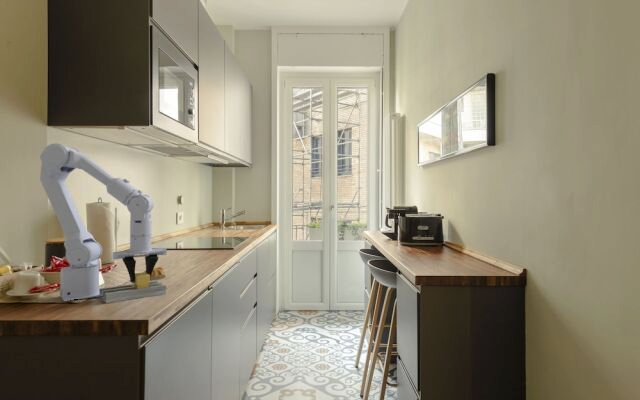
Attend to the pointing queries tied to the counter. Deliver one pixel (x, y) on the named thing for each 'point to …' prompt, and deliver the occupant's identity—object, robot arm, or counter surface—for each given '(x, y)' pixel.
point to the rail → (130, 292)
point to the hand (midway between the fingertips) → (140, 281)
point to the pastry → (157, 274)
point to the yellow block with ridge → (142, 280)
